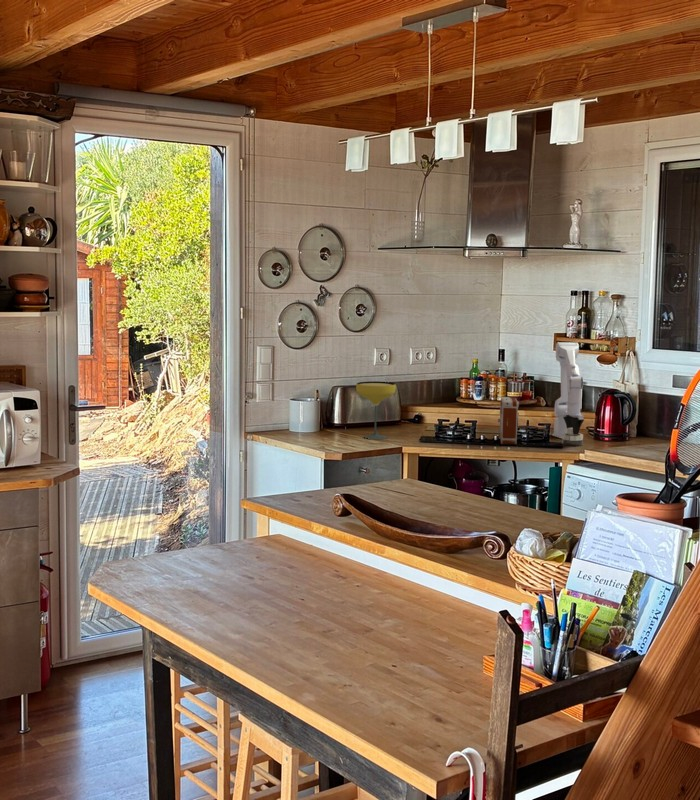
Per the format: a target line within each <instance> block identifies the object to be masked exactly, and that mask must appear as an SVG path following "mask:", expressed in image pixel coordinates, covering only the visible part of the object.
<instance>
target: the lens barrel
mask: <svg viewBox="0 0 700 800" xmlns="http://www.w3.org/2000/svg"><path fill="white" fill-rule="evenodd" d="M561 441H562V442H561V444H562V446H568V447H581V446H583V444H584V434H583V433H580V432H579V433H578V436H570V435H567V433H563V434H562V438H561Z"/></svg>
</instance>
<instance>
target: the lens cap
mask: <svg viewBox="0 0 700 800" xmlns="http://www.w3.org/2000/svg"><path fill="white" fill-rule="evenodd" d="M567 435H570V436H578V434H575V435H574V434H573V428H567Z"/></svg>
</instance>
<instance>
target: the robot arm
mask: <svg viewBox="0 0 700 800" xmlns="http://www.w3.org/2000/svg"><path fill="white" fill-rule="evenodd" d="M579 347H580V345H579V343H578V342H577V341H576V342H562V341H561V342H559V341H558V342H556V344H555V360H556V361H557V362H559V366H560V397H559V398H557V399H556V400H555V401H554V413H553V414H554V416H555V417H556V418H555V419H554V423H553V433H552V434H551V435H552V436H553V437H557V438H559V439H562V434H563V433H567V428H573V434H574V435H575V434H578V433H580V429H581V427H582V424H583V423H584V422H585V419H584V417H585V416H584V414H582V413H581V405H582V403H581V401H582V389H583V387H584V378H583V376H582V374H581V372H580V368H579V367H580V366H579V365H578V364H576V360H577V358H578V355H579V352H580V351H579V350H580V348H579Z"/></svg>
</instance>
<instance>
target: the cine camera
mask: <svg viewBox="0 0 700 800" xmlns="http://www.w3.org/2000/svg"><path fill="white" fill-rule="evenodd" d="M519 407H520V401H518V400H517V398H516V397H510V396H502V397H501V398H500V407H499V415H500V417H499V418H497V422H498V423H499V428H498V429H499V432H498V433H499V441H500V444H501V445H511V446H513V445H517V440H518V429H519V417H520V416H519V415H520V414H519Z"/></svg>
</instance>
